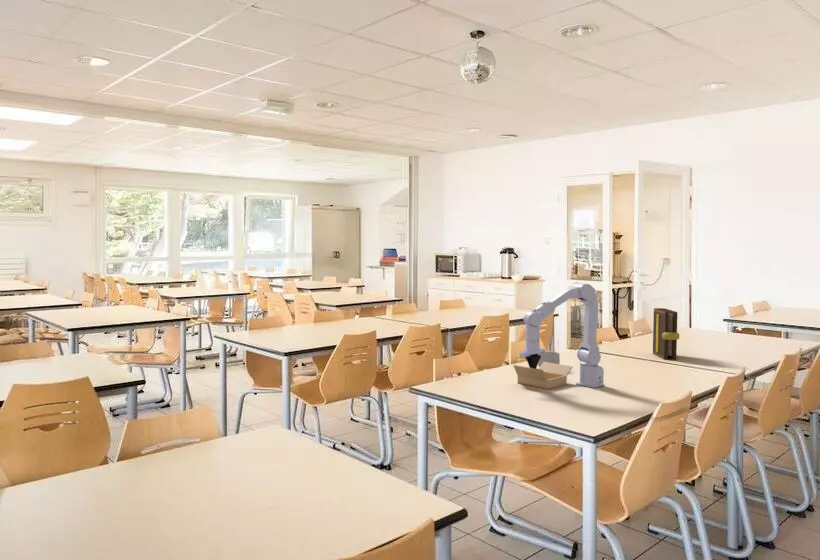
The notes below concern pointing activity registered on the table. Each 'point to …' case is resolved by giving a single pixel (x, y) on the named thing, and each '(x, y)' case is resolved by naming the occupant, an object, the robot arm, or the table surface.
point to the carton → (550, 383)
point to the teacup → (549, 358)
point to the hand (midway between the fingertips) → (532, 372)
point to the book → (665, 333)
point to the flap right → (555, 368)
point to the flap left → (530, 372)
